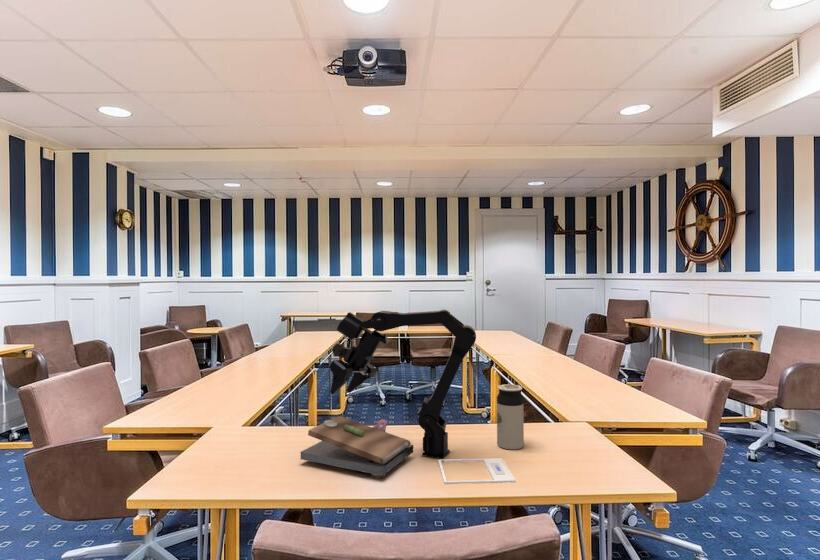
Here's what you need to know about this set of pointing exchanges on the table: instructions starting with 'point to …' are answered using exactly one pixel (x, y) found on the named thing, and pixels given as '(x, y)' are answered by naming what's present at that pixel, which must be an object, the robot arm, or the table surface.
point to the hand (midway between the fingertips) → (340, 392)
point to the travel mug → (510, 417)
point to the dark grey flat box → (351, 459)
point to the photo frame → (494, 467)
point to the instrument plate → (360, 439)
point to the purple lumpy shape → (381, 425)
